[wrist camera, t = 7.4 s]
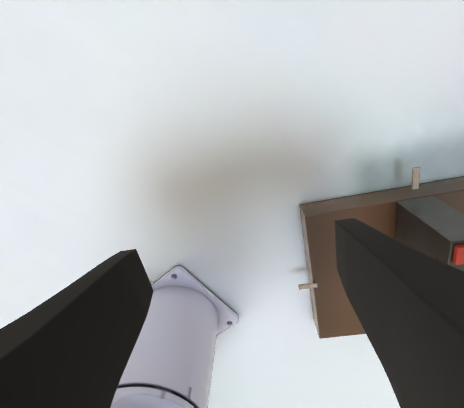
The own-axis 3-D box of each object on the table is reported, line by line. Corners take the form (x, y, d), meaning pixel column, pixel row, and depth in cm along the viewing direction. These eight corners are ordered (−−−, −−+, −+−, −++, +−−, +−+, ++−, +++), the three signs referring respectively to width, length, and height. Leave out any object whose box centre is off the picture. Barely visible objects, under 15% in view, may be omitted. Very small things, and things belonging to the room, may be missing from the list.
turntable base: (304, 337, 25) (309, 358, 23) (280, 181, 19) (285, 191, 17) (489, 317, 23) (511, 339, 21) (530, 135, 17) (568, 140, 15)
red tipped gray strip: (420, 328, 21) (470, 397, 16) (392, 331, 22) (433, 400, 17) (432, 195, 17) (507, 237, 12) (396, 201, 17) (454, 244, 12)
